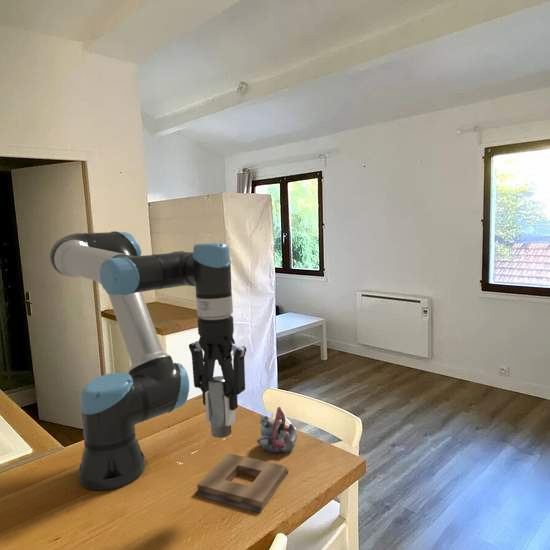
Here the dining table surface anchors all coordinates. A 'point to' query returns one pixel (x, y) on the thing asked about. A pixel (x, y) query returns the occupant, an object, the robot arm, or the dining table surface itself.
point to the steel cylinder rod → (218, 407)
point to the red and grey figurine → (277, 434)
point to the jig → (241, 495)
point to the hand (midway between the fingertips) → (221, 420)
